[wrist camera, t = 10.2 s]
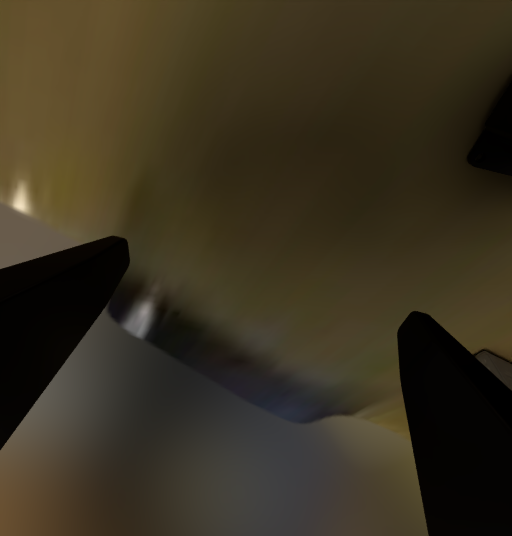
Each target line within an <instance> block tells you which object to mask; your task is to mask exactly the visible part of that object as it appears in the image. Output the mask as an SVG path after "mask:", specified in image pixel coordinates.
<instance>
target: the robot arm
mask: <svg viewBox="0 0 512 536" xmlns="http://www.w3.org/2000/svg"><path fill="white" fill-rule="evenodd" d="M485 127H486V128H485V130H484V131H483V133H482V134H481V136H480V137H479V139H478V141H477V142H476V144H475V145H474V147H473V149H472V150H471V152H470V153H469V155H468V158H467V161H468V163H469V164H471V165H472V166H474V167H477V168H481V169H486V170H490V171H494V172H498V173H502V174H507V175H511V176H512V82H511V83H510V85H509V86H508V88H507V90H506V91H505V93H504V94H503V96H502V98H501V99H500V101H499V102H498V104H497V106H496V107H495V109H494V110H493V112H492V113H491V115H490V117H489V118H488V120H487V121H486V123H485ZM481 153H483V156H482V158H481V159H480V160H478V161H476V160H475V159H476V157H477V156H478V155H479V154H481ZM129 263H130V257H129V248H128V242H127V240H126V239H125V238H121V237H117V236H109V237H106V238H103V239H99V240H96V241H93V242H89V243H86V244H83V245H79V246H76V247H73V248H70V249H66V250H63V251H59V252H56V253H53V254H49V255H46V256H43V257H39V258H36V259H33V260H29V261H26V262H23V263H19V264H16V265H13V266H9V267H6V268H3V269H0V450H1V449H2V447H3V446H4V445H5V443H6V442H7V440H8V439H9V438H10V436H11V435H12V434H13V432H14V431H15V430H16V428H17V427H18V425H19V424H20V423H21V421H22V420H23V419H24V417H25V416H26V415H27V413H28V412H29V410H30V409H31V408H32V406H33V405H34V404H35V402H36V401H37V400H38V398H39V397H40V395H41V394H42V393H43V391H44V390H45V389H46V387H47V386H48V385H49V383H50V382H51V380H52V379H53V378H54V376H55V375H56V374H57V372H58V371H59V369H60V368H61V367H62V365H63V364H64V363H65V361H66V360H67V359H68V357H69V356H70V354H71V353H72V352H73V350H74V349H75V348H76V346H77V345H78V343H79V342H80V341H81V340H82V338H83V337H84V335H85V334H86V333H87V331H88V330H89V329H90V327H91V326H92V325H93V323H94V321H95V320H96V319H97V318H98V316H99V315H100V314H101V312H102V311H103V309H104V308H105V307H106V305H107V303H108V302H109V300H110V298H111V297H112V295H113V293H114V291H115V290H116V288H117V286H118V284H119V283H120V281H121V279H122V277H123V276H124V274H125V272H126V270H127V269H128V267H129ZM397 339H398V354H399V369H400V380H401V387H402V392H403V398H404V403H405V409H406V414H407V420H408V425H409V431H410V436H411V442H412V447H413V453H414V458H415V464H416V469H417V475H418V480H419V485H420V491H421V496H422V502H423V507H424V513H425V518H426V523H427V529H428V534H429V536H512V390H511V389H509V388H508V387H507V386H506V385H505V384H504V383H503V382H502V381H501V380H500V379H499V378H497V377H496V376H495V375H494V374H493V373H492V372H491V371H490V370H489V369H488V368H487V367H485V366H484V365H483V364H482V363H481V362H480V361H479V360H478V359H477V358H476V357H474V356H473V355H472V354H471V353H470V352H469V351H468V350H467V349H466V348H465V347H464V346H462V345H461V344H460V343H459V342H458V341H457V340H456V339H455V338H454V337H453V336H452V335H450V334H449V333H448V332H447V331H446V330H445V329H444V328H443V327H442V326H441V325H440V324H438V323H437V322H436V321H435V320H434V319H433V318H432V317H431V316H430V315H428V314H426V313H422V312H418V311H413V312H411V313H410V314H409V315H408V317H407V318H406V319H405V321H404V322H403V323H402V324H401V326H400V327H399V329H398V333H397Z"/></svg>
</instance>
